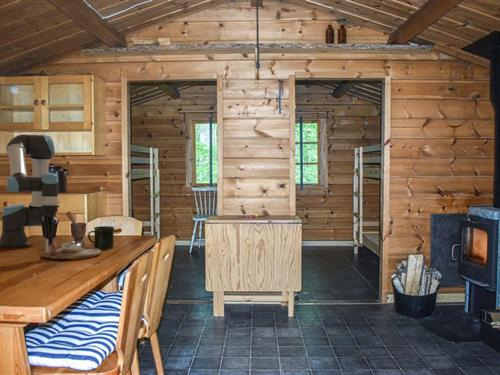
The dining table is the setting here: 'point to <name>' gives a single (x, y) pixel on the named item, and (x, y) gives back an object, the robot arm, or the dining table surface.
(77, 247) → the cover
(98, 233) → the mug
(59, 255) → the turntable
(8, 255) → the dining table surface
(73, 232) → the mortar and pestle
